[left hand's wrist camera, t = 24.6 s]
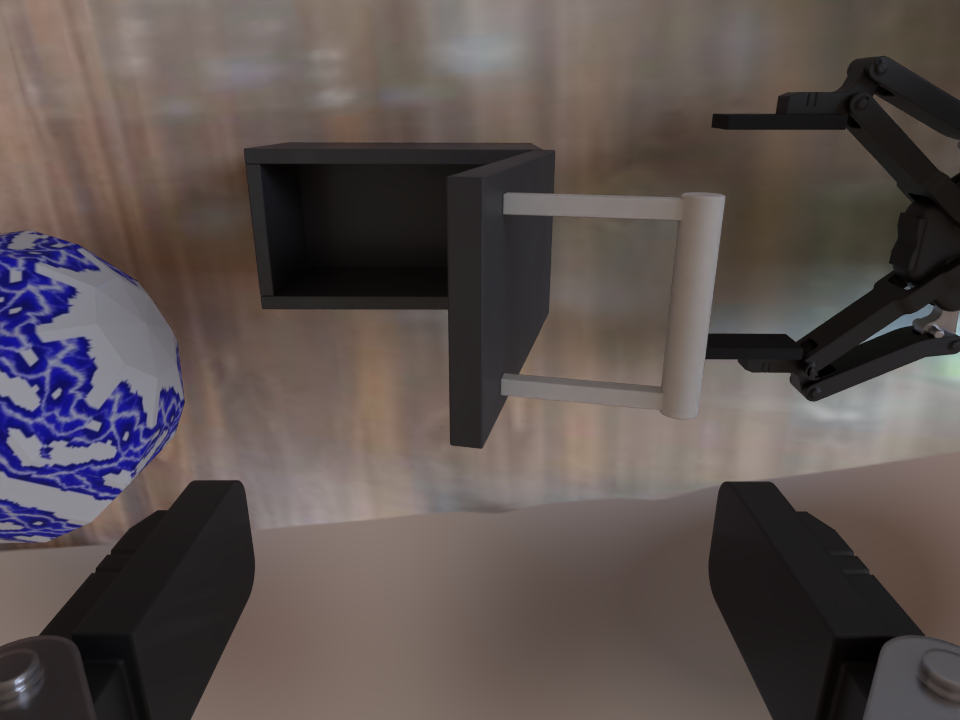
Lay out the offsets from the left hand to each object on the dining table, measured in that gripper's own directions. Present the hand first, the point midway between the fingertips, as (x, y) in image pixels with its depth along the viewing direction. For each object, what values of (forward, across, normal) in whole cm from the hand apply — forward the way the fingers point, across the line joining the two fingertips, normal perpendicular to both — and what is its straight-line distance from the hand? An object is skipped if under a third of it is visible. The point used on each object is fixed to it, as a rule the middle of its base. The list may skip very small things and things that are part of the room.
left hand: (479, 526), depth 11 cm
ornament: (+39, +30, +10) cm, 50 cm away
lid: (+20, -1, 0) cm, 20 cm away
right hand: (+31, -14, +1) cm, 34 cm away
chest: (+39, +5, 0) cm, 39 cm away
